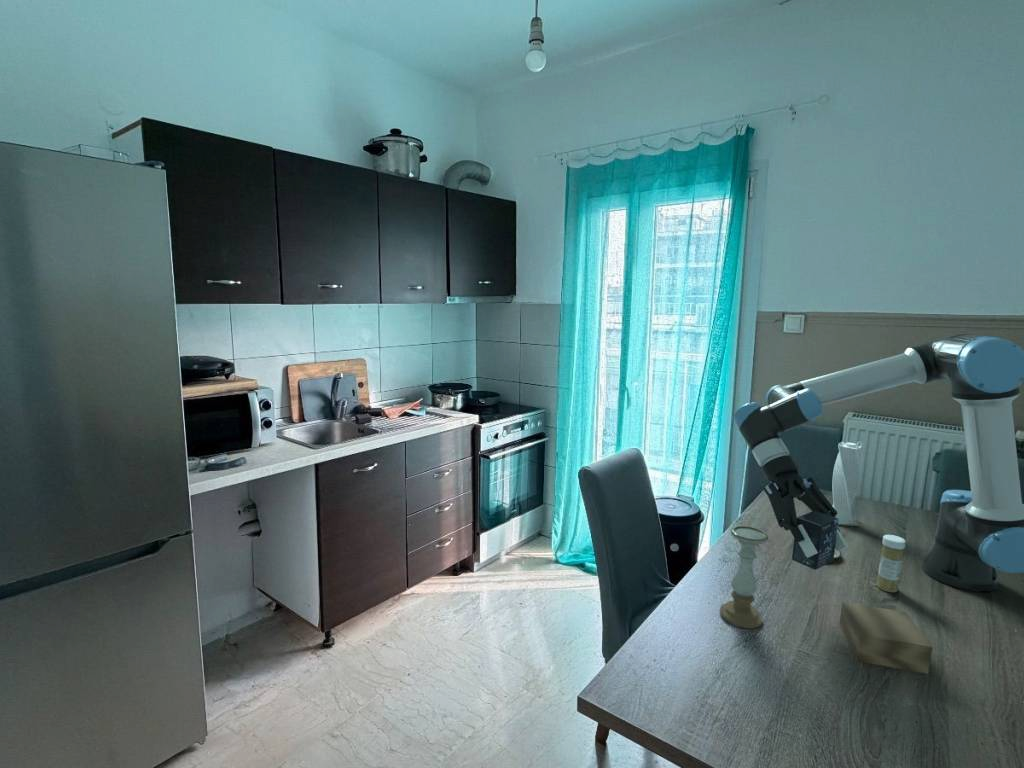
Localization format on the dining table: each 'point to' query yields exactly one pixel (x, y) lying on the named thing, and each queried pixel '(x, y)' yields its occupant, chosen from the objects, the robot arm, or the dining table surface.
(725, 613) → the candle holder
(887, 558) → the sprinkles bottle
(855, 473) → the skyscraper
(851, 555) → the dining table surface
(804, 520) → the box
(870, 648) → the tan square block
